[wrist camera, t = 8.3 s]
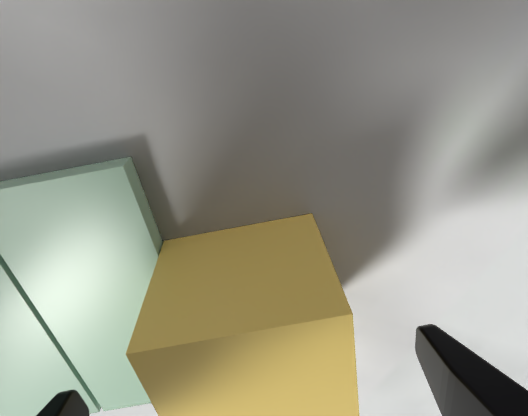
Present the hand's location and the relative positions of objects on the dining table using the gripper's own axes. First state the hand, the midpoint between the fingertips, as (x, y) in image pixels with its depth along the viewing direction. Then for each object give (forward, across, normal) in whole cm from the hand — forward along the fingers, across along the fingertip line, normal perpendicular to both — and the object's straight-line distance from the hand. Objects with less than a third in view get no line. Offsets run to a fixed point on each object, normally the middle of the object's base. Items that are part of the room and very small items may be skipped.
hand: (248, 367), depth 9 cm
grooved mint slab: (+4, +7, 0) cm, 8 cm away
